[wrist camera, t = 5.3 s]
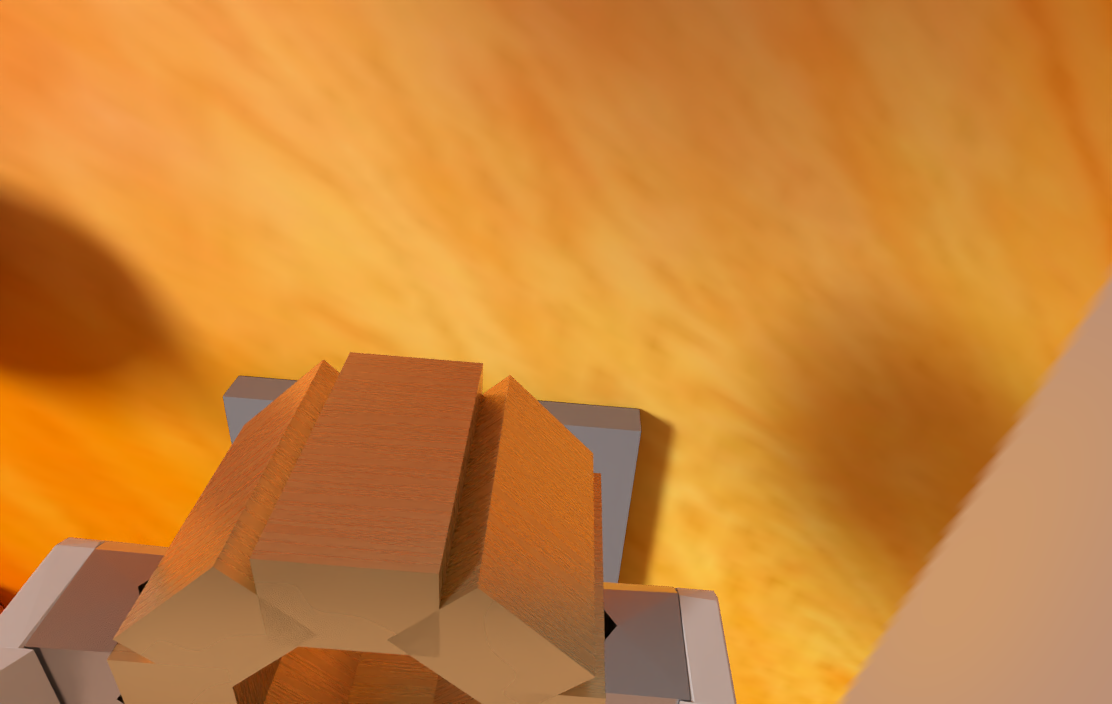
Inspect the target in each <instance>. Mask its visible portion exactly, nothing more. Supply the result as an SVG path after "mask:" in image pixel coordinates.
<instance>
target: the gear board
mask: <svg viewBox="0 0 1112 704" xmlns="http://www.w3.org/2000/svg"><path fill="white" fill-rule="evenodd" d="M296 382H297V381H295V380H283V379H271V378H259V377H247V376H238V377H237V379H236V380H235V381H234V383H233V384H232V385H231V386H230V388H229V389H228V390H227V392H226V393H225V394H224V395H223V400H224V405H225V411H226V416H227V421H228V426H229V432H230V437H231V442H232V444H233V442H234V441H235V439H236V437H237V436H238V434H239V433H240V431H241V429H242V428H243V426H244V425H245V424H246V423H247V422H248V421H250V420H251V419H252V418H253V417H254V416H256V415H257V414H258V413H259V412H261V411H262V410H263V409H264V408H265V407H267V406H268V405H269V404H270V403H271V402H273V401H274V400H275V399H276V398H278V397H279V396H280V395H281V394H282V393H284V392H285V391H286V390H287V389H288V388H290V387H291V386H292V385H293V384H295V383H296ZM538 402H539V403H540V404H541V405H542V406H544V407H545V408H546V409H547V410H548V411H549V412H550V413H551V414H552V415H553V416H554V417H555V418H556V419H557V420H558V421H559V422H561V423H562V424H563V425H564V426H565V427H566V428H567V429H568V430H569V431H570V432H571V433H572V434H573V435H574V436H575V437H576V438H577V439H579V440H580V441H581V442H582V443H583V444H584V445H585V446H586V447H587V448H588V449H589V450H590V451H591V452H592V453H593V473H601V496H602V541H603V582H610V583H618V579H619V572H620V566H621V559H622V553H623V546H624V540H625V533H626V527H627V520H628V514H629V507H630V501H631V494H632V488H633V481H634V475H635V468H636V462H637V455H638V449H639V442H640V436H641V423H640V411H639V409H632V408H620V407H608V406H596V405H584V404H572V403H560V402H548V401H538Z"/></svg>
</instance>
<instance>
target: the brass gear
mask: <svg viewBox="0 0 1112 704" xmlns="http://www.w3.org/2000/svg"><path fill="white" fill-rule="evenodd" d="M482 383H483V363H473V362H461V361H449V360H437V359H425V358H412V357H400V356H388V355H376V354H364V353H352V352H350V354H349V356H348V358H347V360H346V362H345V364H344V366H343V368H342V370H341V372H340V373H339V372H338V371H337V370H336V369H334V368H333V367H332V366H331V365H330V364H328V363H327V362H326V361H325V360H322V361H321V362H320V363H319V364H318V365H316V366H315V367H314V368H313V369H311V370H310V371H309V372H308V373H307V374H305V375H304V376H303V377H302V378H301V379H299V380H298V381H297V382H296V383H295V384H293V385H292V386H291V387H290V388H288V389H287V390H286V391H285V392H284V393H282V394H281V395H280V396H279V397H278V398H276V399H275V400H274V401H273V402H271V403H270V404H269V405H268V406H267V407H265V408H264V409H263V410H262V411H261V412H259V413H258V414H257V415H256V416H254V417H253V418H252V419H251V420H250V421H248V422H247V423H246V424H245V425H244V426H243V428H242V429H241V431H240V433H239V434H238V436H237V437H236V439H235V441H234V442H233V444H232V446H231V447H230V449H229V451H228V452H227V454H226V455H225V457H224V459H223V460H222V462H221V464H220V465H219V467H218V468H217V470H216V472H215V473H214V475H213V477H212V478H211V480H210V481H209V483H208V485H207V486H206V488H205V490H204V491H203V493H202V494H201V496H200V498H199V499H198V501H197V503H196V504H195V506H194V508H193V509H192V511H191V512H190V514H189V516H188V517H187V519H186V521H185V522H184V524H183V525H182V527H181V529H180V530H179V532H178V534H177V535H176V537H175V538H174V540H173V542H172V543H171V545H170V547H169V548H168V550H167V551H166V553H165V555H164V556H163V558H162V560H161V561H160V563H159V565H158V566H157V568H156V569H155V571H154V573H153V574H152V576H151V578H150V579H149V581H148V582H147V584H146V586H145V587H144V589H143V591H142V592H141V594H140V595H139V597H138V599H137V600H136V602H135V604H134V605H133V607H132V608H131V610H130V612H129V613H128V615H127V617H126V618H125V620H124V622H123V623H122V625H121V626H120V628H119V630H118V631H117V633H116V635H115V636H114V638H113V640H114V641H116V642H118V643H117V645H116V646H115V648H114V650H113V651H112V653H111V654H110V655H109V657H108V659H107V662H108V664H109V667H110V669H111V672H112V674H113V676H114V679H115V681H116V684H117V686H118V689H119V691H120V694H121V696H122V698H123V701H124V703H125V704H605V701H606V693H605V664H604V641H605V633H604V610H603V589H604V587H603V541H602V496H601V473H593V453H592V452H591V451H590V450H589V449H588V448H587V447H586V446H585V445H584V444H583V443H582V442H581V441H580V440H579V439H577V438H576V437H575V436H574V435H573V434H572V433H571V432H570V431H569V430H568V429H567V428H566V427H565V426H564V425H563V424H562V423H561V422H559V421H558V420H557V419H556V418H555V417H554V416H553V415H552V414H551V413H550V412H549V411H548V410H547V409H546V408H545V407H544V406H542V405H541V404H540V403H539V402H538V401H537V400H536V399H535V398H534V397H533V396H532V395H531V394H530V393H529V392H528V391H527V390H526V389H524V388H523V387H522V386H521V385H520V384H519V383H518V382H517V381H516V380H515V379H514V378H513V377H512V376H511V375H509V376H508V377H506V378H505V379H504V380H502V381H501V382H499V383H498V384H496V385H495V386H494V387H492V388H491V389H489V390H488V391H487V392H485V393H484V394H482Z"/></svg>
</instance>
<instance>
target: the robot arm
mask: <svg viewBox="0 0 1112 704" xmlns="http://www.w3.org/2000/svg"><path fill="white" fill-rule="evenodd" d="M167 550H168V547H159V546H150V545H141V544H132V543H122V542H113V541H102V540H91V539H81V538H70V537H69V538H67V539H65V540H64V541H62V542H60V543H59V544H57V545H56V546H55V547H54V548H53V549H52V550H51V552H50V553H49V554H48V555H47V557H46V558H45V559H44V560H43V562H42V563H41V564H40V565H39V567H38V568H37V569H36V570H35V572H34V573H33V574H32V575H31V577H30V578H29V579H28V580H27V582H26V583H25V584H24V585H23V587H22V588H21V589H20V591H19V592H18V593H17V594H16V596H15V597H14V598H13V599H12V601H11V602H10V603H9V604H8V606H7V607H6V608H5V609H4V611H3V612H2V613H1V614H0V704H125V703H124V701H123V698H122V696H121V694H120V691H119V689H118V686H117V684H116V681H115V679H114V676H113V674H112V672H111V669H110V667H109V664H108V662H107V659H108V657H109V655H110V654H111V653H112V651H113V650H114V648H115V646H116V645H117V643H118V642H116V641H114V640H113V638H114V636H115V635H116V633H117V631H118V630H119V628H120V626H121V625H122V623H123V622H124V620H125V618H126V617H127V615H128V613H129V612H130V610H131V608H132V607H133V605H134V604H135V602H136V600H137V599H138V597H139V595H140V594H141V592H142V591H143V589H144V587H145V586H146V584H147V582H148V581H149V579H150V578H151V576H152V574H153V573H154V571H155V569H156V568H157V566H158V565H159V563H160V561H161V560H162V558H163V556H164V555H165V553H166V551H167ZM603 587H604V589H603V610H604V633H605V641H604V664H605V693H606V701H605V704H736V698H735V693H734V687H733V681H732V676H731V670H730V664H729V659H728V653H727V647H726V642H725V636H724V631H723V625H722V619H721V614H720V608H719V602H718V598H717V596H716V594H715V593H714V591H709V590H697V589H685V588H674V587H669V586H654V585H640V584H625V583H610V582H603Z"/></svg>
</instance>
